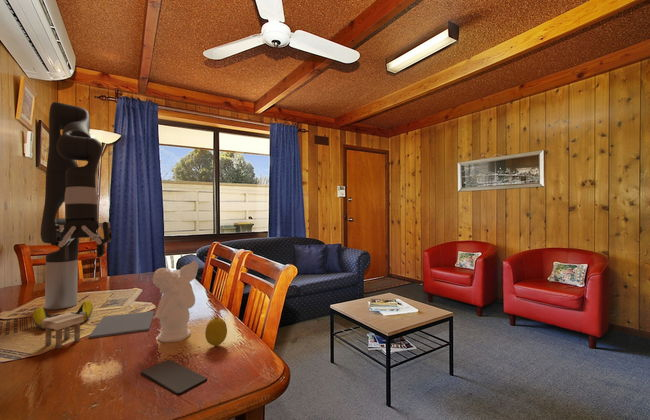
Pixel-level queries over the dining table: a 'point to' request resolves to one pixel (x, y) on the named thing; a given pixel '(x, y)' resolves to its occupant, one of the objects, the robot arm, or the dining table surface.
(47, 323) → the stool
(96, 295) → the dining table surface
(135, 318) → the mat
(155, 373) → the smartphone
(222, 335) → the lemon
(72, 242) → the robot arm
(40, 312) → the gaming controller
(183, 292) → the cherub figurine
